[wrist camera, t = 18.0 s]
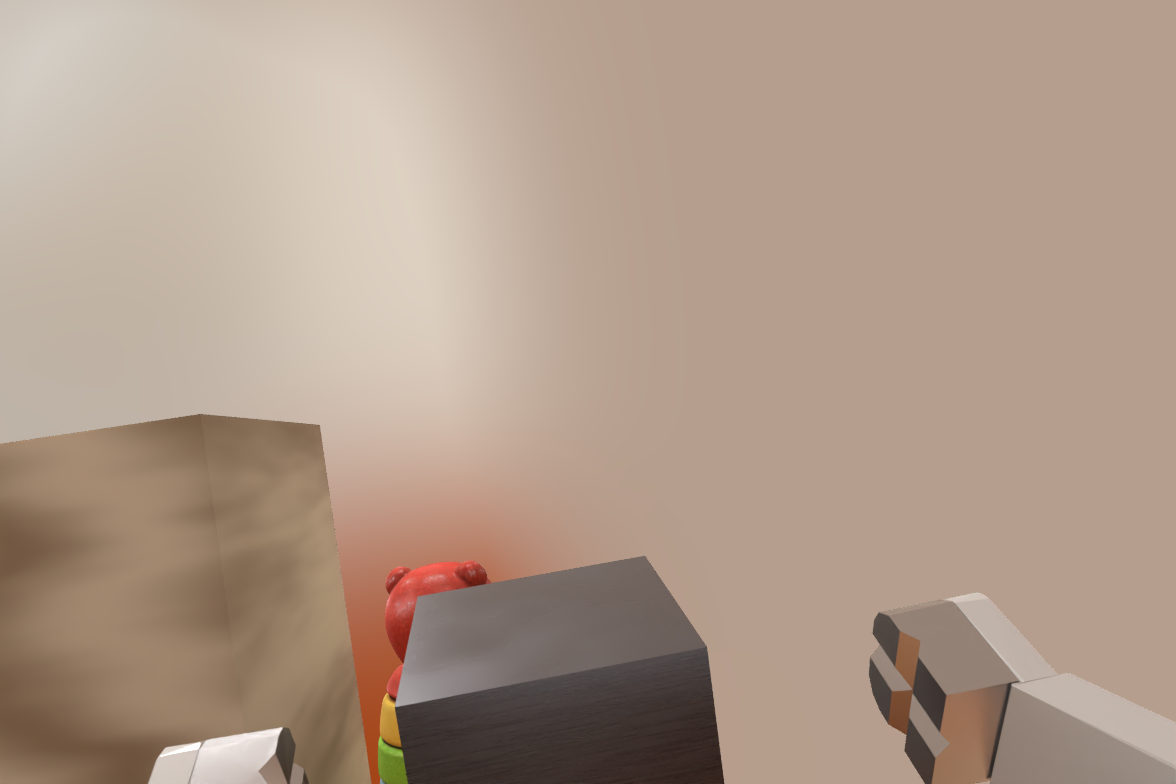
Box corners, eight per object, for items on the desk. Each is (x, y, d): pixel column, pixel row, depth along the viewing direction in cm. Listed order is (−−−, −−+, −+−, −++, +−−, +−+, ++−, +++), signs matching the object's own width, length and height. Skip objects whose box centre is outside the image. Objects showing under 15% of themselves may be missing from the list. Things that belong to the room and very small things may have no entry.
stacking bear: (598, 824, 51) (553, 538, 52) (517, 925, 42) (465, 575, 43) (452, 815, 56) (414, 551, 56) (351, 904, 46) (306, 587, 47)
